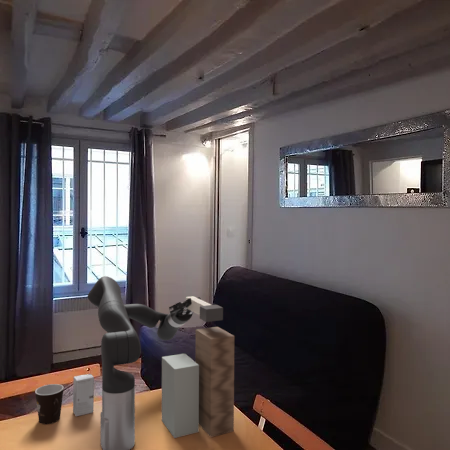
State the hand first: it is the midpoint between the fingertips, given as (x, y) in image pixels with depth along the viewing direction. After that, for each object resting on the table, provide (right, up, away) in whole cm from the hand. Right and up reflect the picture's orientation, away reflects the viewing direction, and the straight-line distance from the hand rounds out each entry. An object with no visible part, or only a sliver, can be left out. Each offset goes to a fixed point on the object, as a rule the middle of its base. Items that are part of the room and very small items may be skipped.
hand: (195, 300), depth 145 cm
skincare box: (-38, -37, -5) cm, 53 cm away
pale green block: (-4, -38, -14) cm, 40 cm away
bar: (+2, -4, -5) cm, 7 cm away
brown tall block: (+7, -38, -13) cm, 41 cm away
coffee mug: (-47, -38, -12) cm, 61 cm away
